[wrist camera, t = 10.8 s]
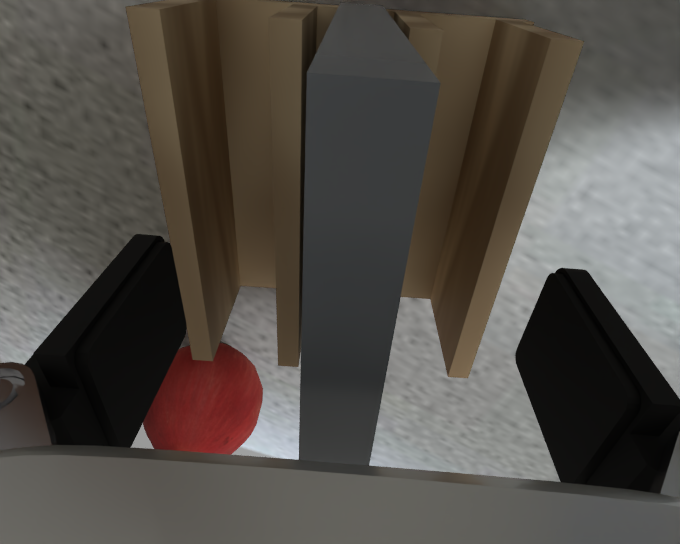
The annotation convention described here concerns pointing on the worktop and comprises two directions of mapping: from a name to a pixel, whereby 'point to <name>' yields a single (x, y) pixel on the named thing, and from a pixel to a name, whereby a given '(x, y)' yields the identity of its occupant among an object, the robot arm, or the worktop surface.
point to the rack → (289, 155)
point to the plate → (357, 221)
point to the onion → (205, 403)
